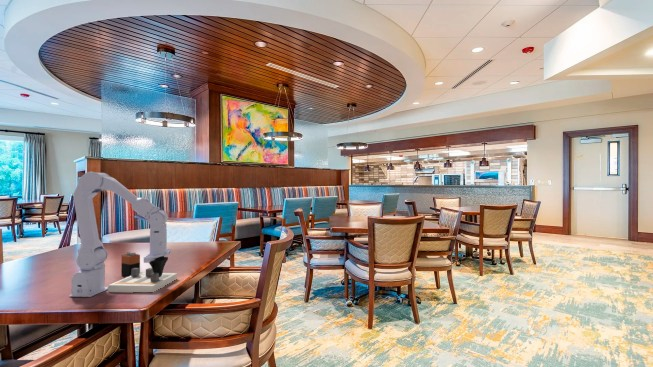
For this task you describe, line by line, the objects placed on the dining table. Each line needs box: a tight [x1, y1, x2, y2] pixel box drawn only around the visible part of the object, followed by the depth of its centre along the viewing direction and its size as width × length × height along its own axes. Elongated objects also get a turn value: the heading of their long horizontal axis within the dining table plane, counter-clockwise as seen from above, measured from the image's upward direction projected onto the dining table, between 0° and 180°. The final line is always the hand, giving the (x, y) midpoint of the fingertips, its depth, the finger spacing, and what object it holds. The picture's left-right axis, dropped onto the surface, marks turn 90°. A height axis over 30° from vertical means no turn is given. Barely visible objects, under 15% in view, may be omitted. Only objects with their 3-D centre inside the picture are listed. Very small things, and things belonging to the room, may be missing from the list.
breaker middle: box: [145, 267, 154, 277], centre depth 120 cm, size 2×2×3 cm
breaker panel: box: [107, 272, 178, 293], centre depth 117 cm, size 16×17×3 cm
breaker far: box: [131, 268, 139, 276], centre depth 121 cm, size 2×2×3 cm
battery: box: [120, 251, 141, 278], centre depth 130 cm, size 4×7×10 cm, turn 63°
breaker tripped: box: [151, 273, 159, 282], centre depth 114 cm, size 2×2×3 cm
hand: (158, 276), depth 116 cm, fingers closed
